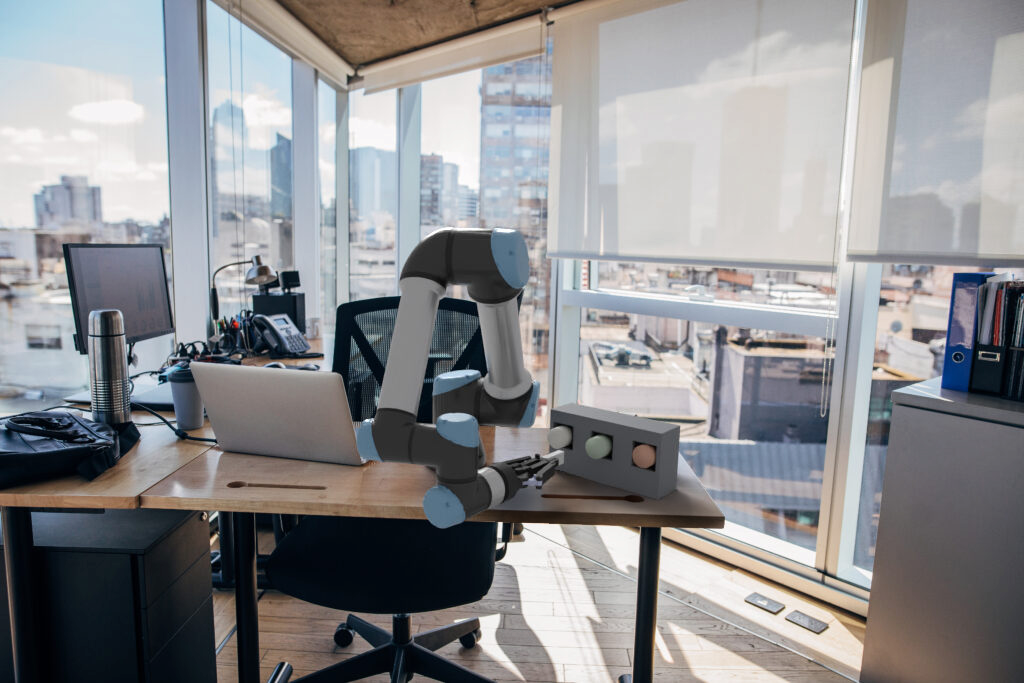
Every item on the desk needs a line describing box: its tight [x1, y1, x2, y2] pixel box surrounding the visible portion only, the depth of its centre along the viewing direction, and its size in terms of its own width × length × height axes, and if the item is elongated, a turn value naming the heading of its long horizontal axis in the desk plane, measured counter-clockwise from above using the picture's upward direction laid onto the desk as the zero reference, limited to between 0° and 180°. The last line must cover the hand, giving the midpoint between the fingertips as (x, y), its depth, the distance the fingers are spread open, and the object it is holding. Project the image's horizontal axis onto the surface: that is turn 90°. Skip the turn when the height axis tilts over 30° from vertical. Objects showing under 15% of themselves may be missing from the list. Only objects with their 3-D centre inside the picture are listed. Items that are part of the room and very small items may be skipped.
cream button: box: [546, 425, 573, 449], centre depth 158 cm, size 4×5×5 cm
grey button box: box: [548, 402, 681, 501], centre depth 155 cm, size 9×30×15 cm, turn 50°
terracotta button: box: [632, 443, 657, 468], centre depth 146 cm, size 4×5×5 cm
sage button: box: [585, 434, 613, 459], centre depth 151 cm, size 4×5×5 cm
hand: (561, 456), depth 144 cm, fingers closed
